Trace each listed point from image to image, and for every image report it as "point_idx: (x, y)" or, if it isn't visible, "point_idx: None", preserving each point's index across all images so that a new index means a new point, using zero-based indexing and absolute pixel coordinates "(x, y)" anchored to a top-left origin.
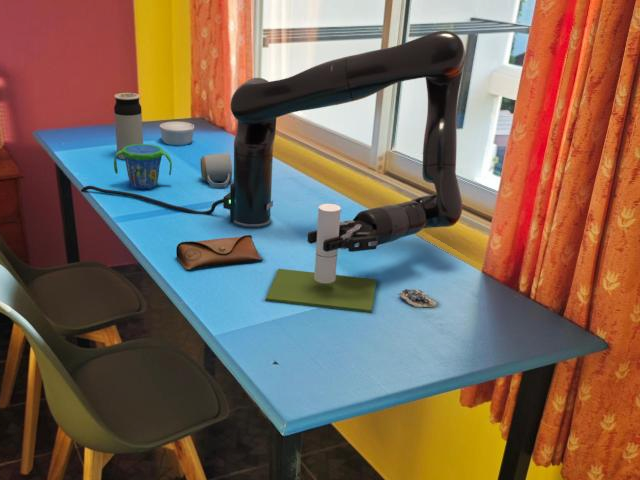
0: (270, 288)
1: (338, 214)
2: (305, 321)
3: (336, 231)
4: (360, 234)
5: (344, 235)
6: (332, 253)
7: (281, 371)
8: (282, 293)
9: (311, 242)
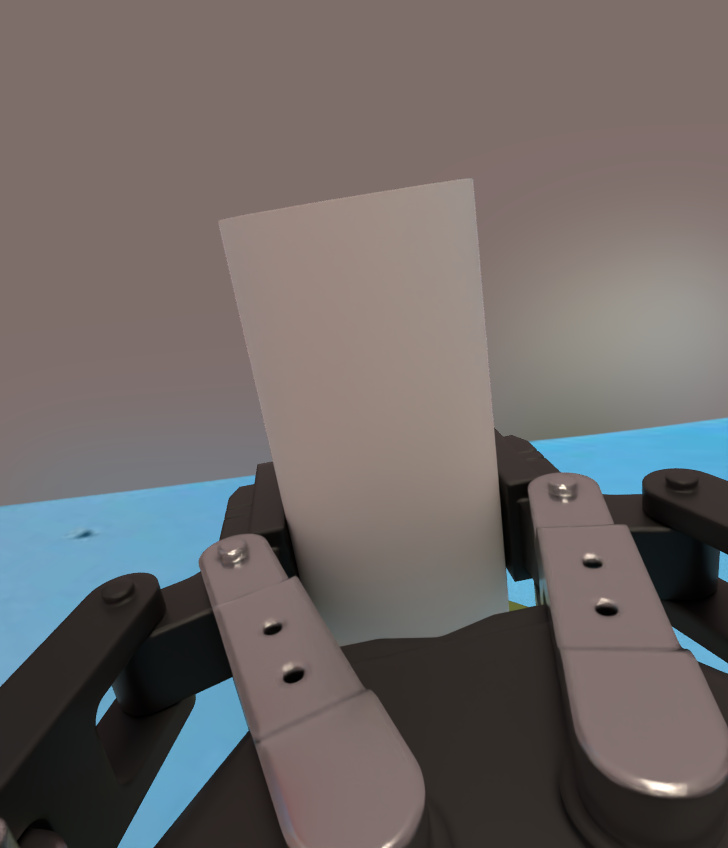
0: (522, 606)
1: (231, 276)
2: None
3: (273, 459)
4: (195, 800)
5: (256, 563)
6: None
7: (47, 537)
8: None
9: None
